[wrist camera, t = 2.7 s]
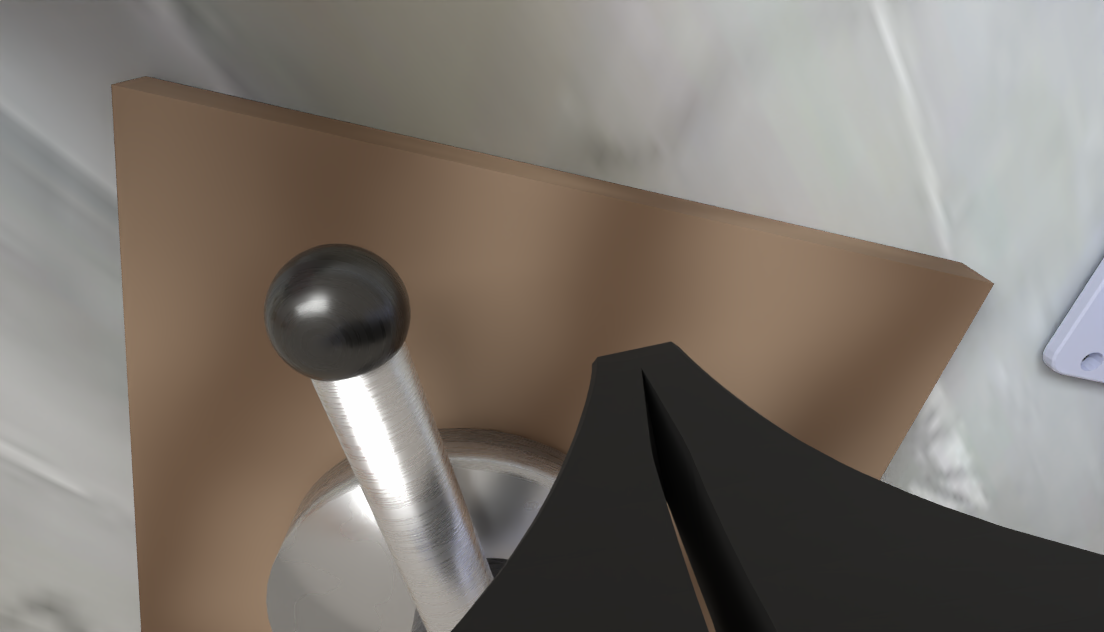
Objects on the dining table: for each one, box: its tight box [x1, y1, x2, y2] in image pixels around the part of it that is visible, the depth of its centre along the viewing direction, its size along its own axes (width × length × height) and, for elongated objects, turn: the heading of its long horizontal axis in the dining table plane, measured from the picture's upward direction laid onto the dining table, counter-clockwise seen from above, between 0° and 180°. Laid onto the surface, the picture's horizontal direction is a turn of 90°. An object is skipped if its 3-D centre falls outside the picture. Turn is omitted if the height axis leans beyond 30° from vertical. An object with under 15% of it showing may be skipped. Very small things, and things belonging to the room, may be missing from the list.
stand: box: [111, 76, 994, 632], centre depth 17 cm, size 18×20×2 cm
